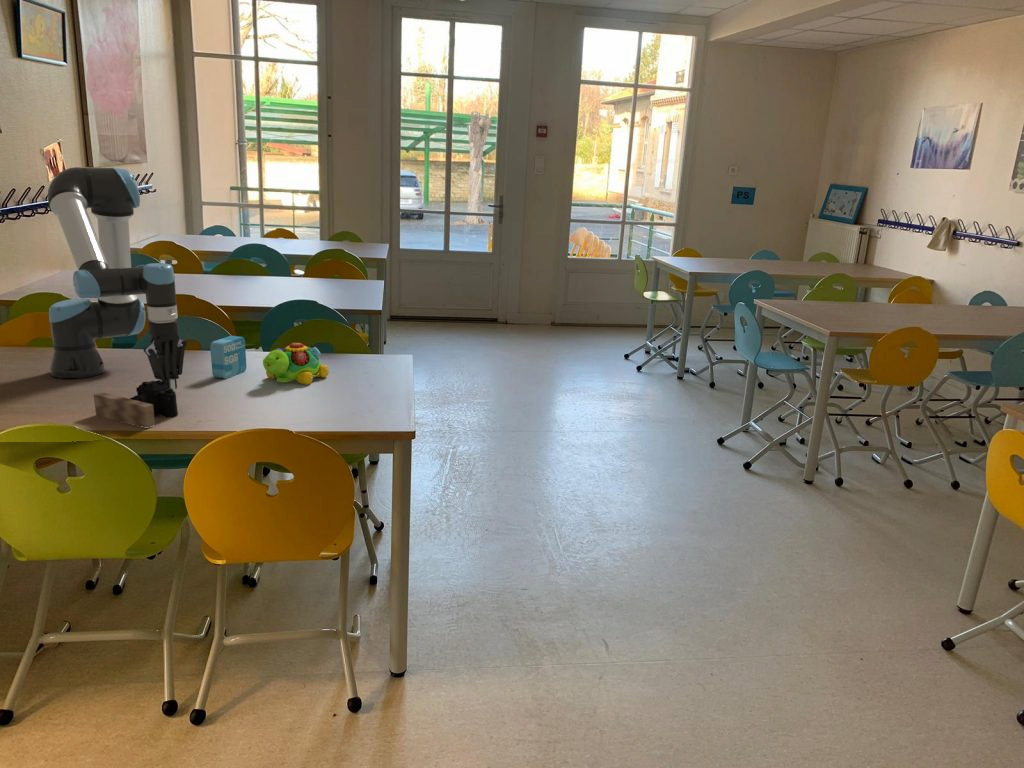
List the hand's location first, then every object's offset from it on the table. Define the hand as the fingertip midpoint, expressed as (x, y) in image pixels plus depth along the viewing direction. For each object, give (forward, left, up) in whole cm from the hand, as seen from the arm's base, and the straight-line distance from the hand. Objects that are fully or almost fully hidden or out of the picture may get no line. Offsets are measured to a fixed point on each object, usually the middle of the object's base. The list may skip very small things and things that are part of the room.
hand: (171, 400), depth 213 cm
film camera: (+1, -8, -2) cm, 8 cm away
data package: (-10, +32, -2) cm, 34 cm away
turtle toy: (+11, +39, -2) cm, 40 cm away
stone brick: (0, -15, -1) cm, 15 cm away
